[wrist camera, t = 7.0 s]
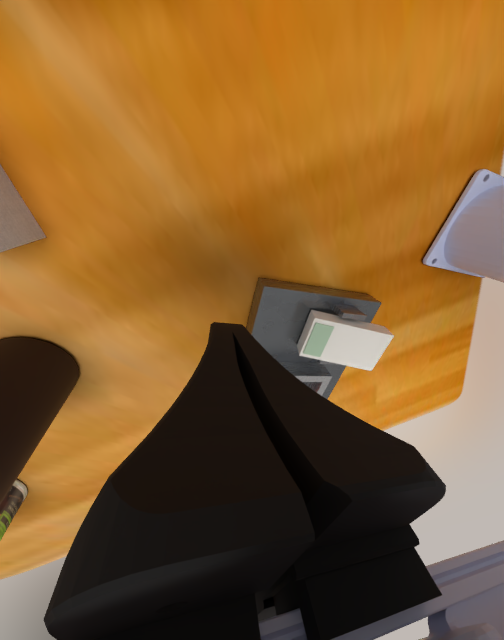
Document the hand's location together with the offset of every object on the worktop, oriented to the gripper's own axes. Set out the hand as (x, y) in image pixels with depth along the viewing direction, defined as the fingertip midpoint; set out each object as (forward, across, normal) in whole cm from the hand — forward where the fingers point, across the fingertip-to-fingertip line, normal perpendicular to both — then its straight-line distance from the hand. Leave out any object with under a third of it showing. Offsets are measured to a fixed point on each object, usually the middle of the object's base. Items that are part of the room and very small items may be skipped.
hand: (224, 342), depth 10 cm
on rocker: (+6, -12, +4) cm, 14 cm away
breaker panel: (+10, -10, +8) cm, 16 cm away
